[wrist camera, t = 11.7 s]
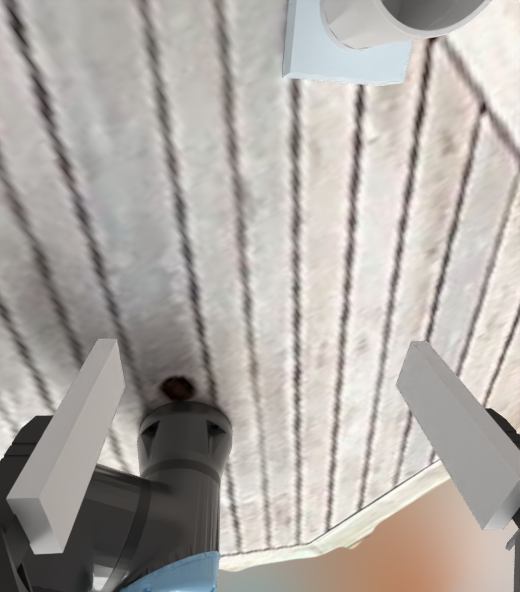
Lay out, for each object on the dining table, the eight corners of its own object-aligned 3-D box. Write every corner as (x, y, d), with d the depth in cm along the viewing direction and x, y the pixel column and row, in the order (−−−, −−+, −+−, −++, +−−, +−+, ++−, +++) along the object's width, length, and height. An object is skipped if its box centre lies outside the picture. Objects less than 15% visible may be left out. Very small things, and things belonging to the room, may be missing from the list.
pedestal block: (282, 77, 32) (290, 72, 28) (294, -67, 28) (306, -100, 23) (380, 86, 33) (403, 82, 29) (409, -52, 29) (441, -80, 24)
